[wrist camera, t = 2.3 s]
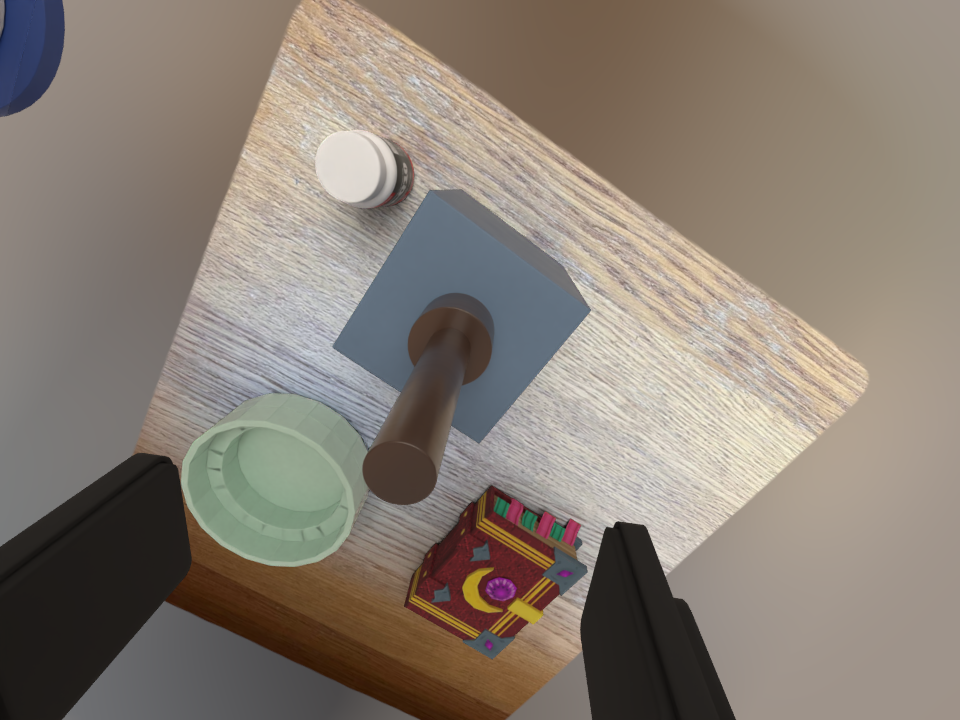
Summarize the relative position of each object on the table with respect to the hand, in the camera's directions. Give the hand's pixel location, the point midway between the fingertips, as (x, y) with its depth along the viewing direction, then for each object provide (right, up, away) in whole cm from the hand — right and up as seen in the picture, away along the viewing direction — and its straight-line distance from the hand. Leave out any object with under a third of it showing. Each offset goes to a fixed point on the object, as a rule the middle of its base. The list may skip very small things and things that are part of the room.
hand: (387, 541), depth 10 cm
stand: (+2, +11, +27) cm, 29 cm away
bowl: (-16, -6, +35) cm, 39 cm away
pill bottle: (-5, +18, +25) cm, 31 cm away
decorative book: (+4, -16, +37) cm, 41 cm away
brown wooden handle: (+1, +6, +14) cm, 15 cm away
